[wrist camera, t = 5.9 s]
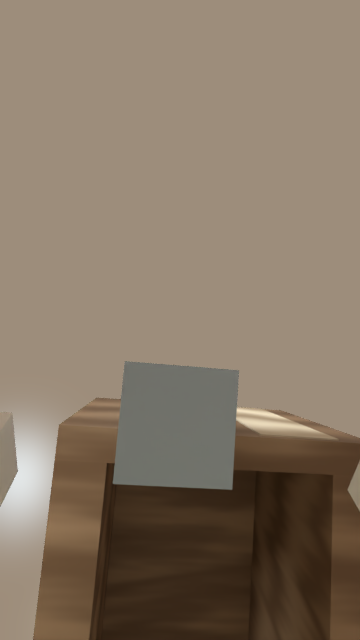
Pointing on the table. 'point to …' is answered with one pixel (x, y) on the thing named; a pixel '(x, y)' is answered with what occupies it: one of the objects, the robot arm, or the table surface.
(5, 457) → the robot arm
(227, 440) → the rod
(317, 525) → the shelf
